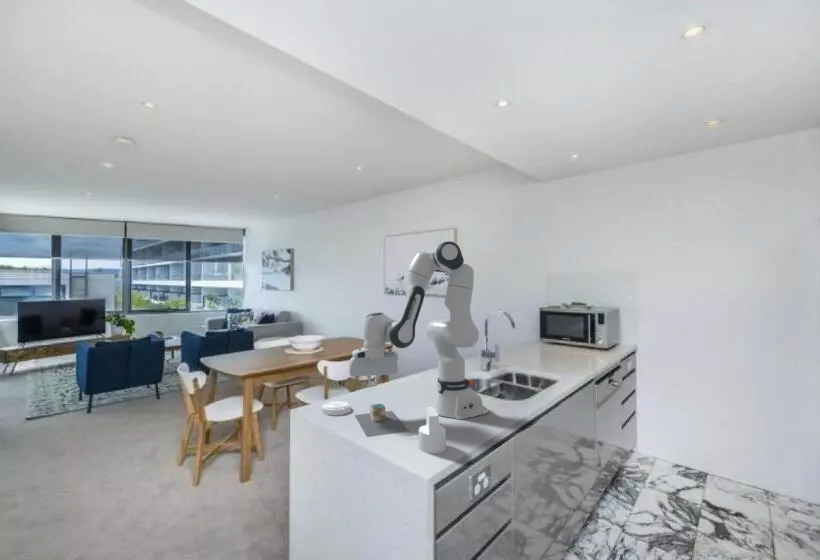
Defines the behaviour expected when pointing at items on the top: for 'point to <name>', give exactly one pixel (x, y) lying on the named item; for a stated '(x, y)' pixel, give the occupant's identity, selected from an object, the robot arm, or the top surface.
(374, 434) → the rubber mat
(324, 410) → the white mooncake
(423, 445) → the white cylinder with post
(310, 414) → the top surface
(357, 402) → the top surface
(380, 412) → the maple block
